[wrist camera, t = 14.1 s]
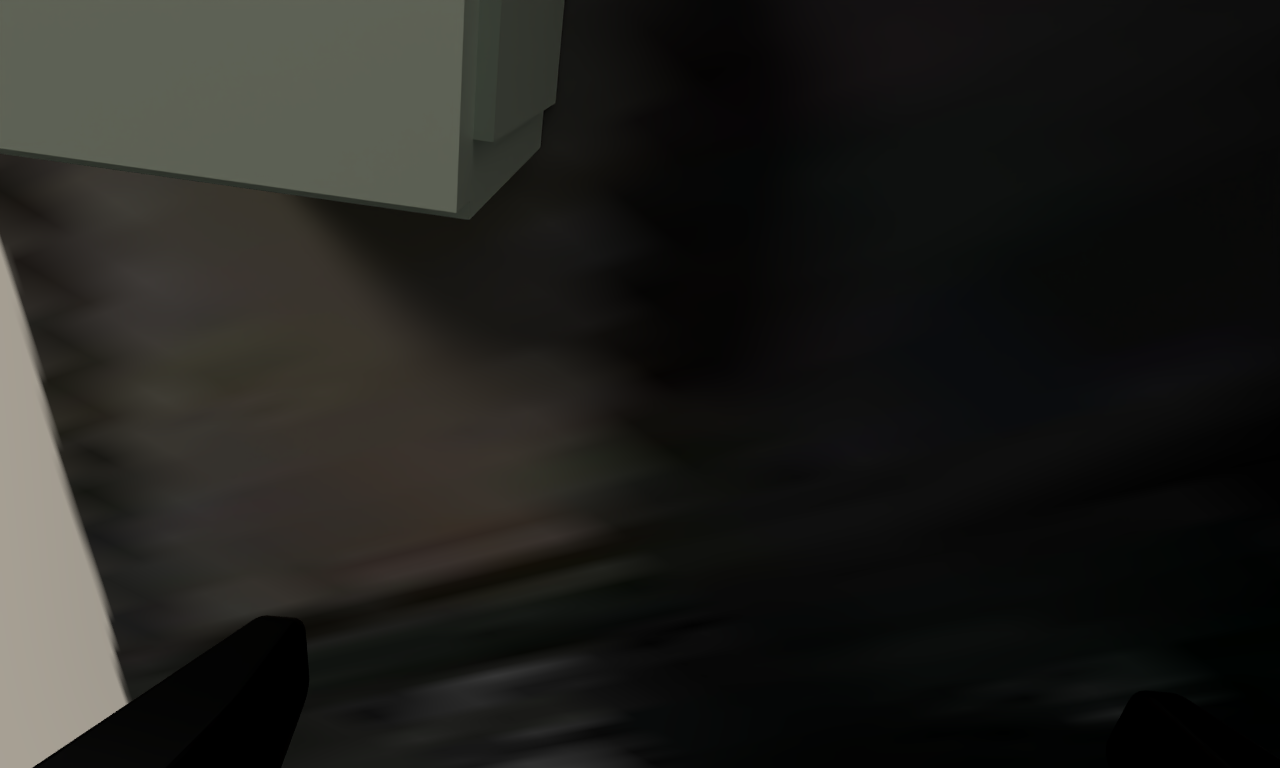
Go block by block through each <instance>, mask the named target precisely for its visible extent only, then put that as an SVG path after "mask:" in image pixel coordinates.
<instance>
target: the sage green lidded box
mask: <svg viewBox="0 0 1280 768" xmlns="http://www.w3.org/2000/svg"><path fill="white" fill-rule="evenodd" d="M564 2H565V0H0V154H7V155H14V156H21V157H28V158H35V159H42V160H49V161H56V162H63V163H70V164H77V165H84V166H92V167H99V168H106V169H113V170H120V171H127V172H134V173H141V174H148V175H155V176H162V177H169V178H176V179H183V180H191V181H198V182H205V183H212V184H219V185H226V186H233V187H240V188H247V189H254V190H261V191H268V192H275V193H283V194H290V195H297V196H304V197H311V198H318V199H325V200H332V201H339V202H346V203H353V204H360V205H367V206H375V207H382V208H389V209H396V210H403V211H410V212H417V213H424V214H431V215H438V216H445V217H452V218H459V219H466V220H470V219H471V218H472V217H473V216H474V215H475V214H476V213H477V212H478V211H479V210H480V209H481V208H482V207H483V206H484V205H485V203H486V202H487V201H488V200H489V199H490V198H491V197H492V196H493V195H494V194H495V193H496V192H497V191H498V190H499V189H500V188H501V187H502V186H503V185H504V184H505V183H506V182H507V181H508V180H509V179H510V178H511V177H512V176H513V175H514V174H515V173H516V172H517V171H518V170H519V169H520V168H521V167H522V166H523V165H524V164H525V163H526V162H527V161H528V160H529V159H530V158H531V157H532V156H533V155H534V154H535V153H536V152H537V151H538V150H539V148H540V147H541V135H542V124H543V112H544V110H545V109H547V108H549V107H550V106H552V105H553V104H555V103H556V91H557V80H558V69H559V58H560V47H561V36H562V25H563V13H564Z"/></svg>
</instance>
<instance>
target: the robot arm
mask: <svg viewBox="0 0 1280 768" xmlns="http://www.w3.org/2000/svg"><path fill="white" fill-rule="evenodd" d="M308 687H309V668H308V655H307V642H306V630H305V626H304V624H303V622H302V621H301V620H300V619H298V618H292V617H280V616H268V615H266V616H260V617H258V618H256V619H254V620H252V621H251V622H249V623H248V624H246V625H245V626H243V627H242V628H240V629H239V630H237V631H236V632H234V633H233V634H231V635H230V636H228V637H227V638H225V639H224V640H222V641H221V642H219V643H218V644H216V645H215V646H213V647H212V648H210V649H209V650H207V651H206V652H204V653H203V654H201V655H200V656H198V657H197V658H195V659H194V660H192V661H191V662H189V663H188V664H186V665H185V666H183V667H182V668H180V669H179V670H177V671H176V672H174V673H173V674H172V675H170V676H169V677H167V678H166V679H164V680H163V681H161V682H160V683H158V684H157V685H155V686H154V687H152V688H151V689H149V690H148V691H146V692H145V693H143V694H142V695H140V696H139V697H137V698H136V699H134V700H133V701H131V702H130V703H128V704H127V705H125V706H124V707H122V708H121V709H119V710H118V711H116V712H115V713H113V714H112V715H110V716H109V717H107V718H106V719H104V720H103V721H101V722H100V723H98V724H97V725H95V726H94V727H92V728H91V729H90V730H88V731H86V732H85V733H83V734H82V735H80V736H79V737H77V738H76V739H74V740H73V741H72V742H70V743H69V744H67V745H66V746H64V747H63V748H61V749H60V750H58V751H57V752H56V753H54V754H52V755H51V756H49V757H48V758H46V759H45V760H43V761H42V762H40V763H39V764H37V765H36V766H34V767H33V768H281V766H282V764H283V761H284V758H285V755H286V753H287V750H288V747H289V744H290V742H291V739H292V736H293V733H294V731H295V728H296V725H297V722H298V720H299V717H300V714H301V712H302V709H303V706H304V703H305V700H306V696H307V692H308ZM1106 757H1107V762H1108V765H1109V768H1280V759H1279V758H1277V757H1276V756H1274V755H1273V754H1271V753H1270V752H1268V751H1267V750H1265V749H1264V748H1262V747H1260V746H1259V745H1257V744H1256V743H1254V742H1253V741H1251V740H1250V739H1248V738H1247V737H1245V736H1243V735H1242V734H1240V733H1239V732H1237V731H1236V730H1234V729H1233V728H1231V727H1229V726H1228V725H1226V724H1225V723H1223V722H1222V721H1220V720H1219V719H1217V718H1216V717H1214V716H1212V715H1211V714H1209V713H1208V712H1206V711H1205V710H1203V709H1202V708H1200V707H1199V706H1197V705H1195V704H1194V703H1192V702H1191V701H1189V700H1188V699H1186V698H1184V697H1183V696H1180V695H1178V694H1174V693H1167V692H1155V691H1139V692H1137V693H1136V694H1134V695H1133V696H1132V697H1131V698H1130V700H1129V702H1128V703H1127V705H1126V707H1125V709H1124V711H1123V713H1122V714H1121V716H1120V718H1119V720H1118V722H1117V724H1116V725H1115V727H1114V729H1113V731H1112V733H1111V734H1110V736H1109V738H1108V741H1107V745H1106Z"/></svg>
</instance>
